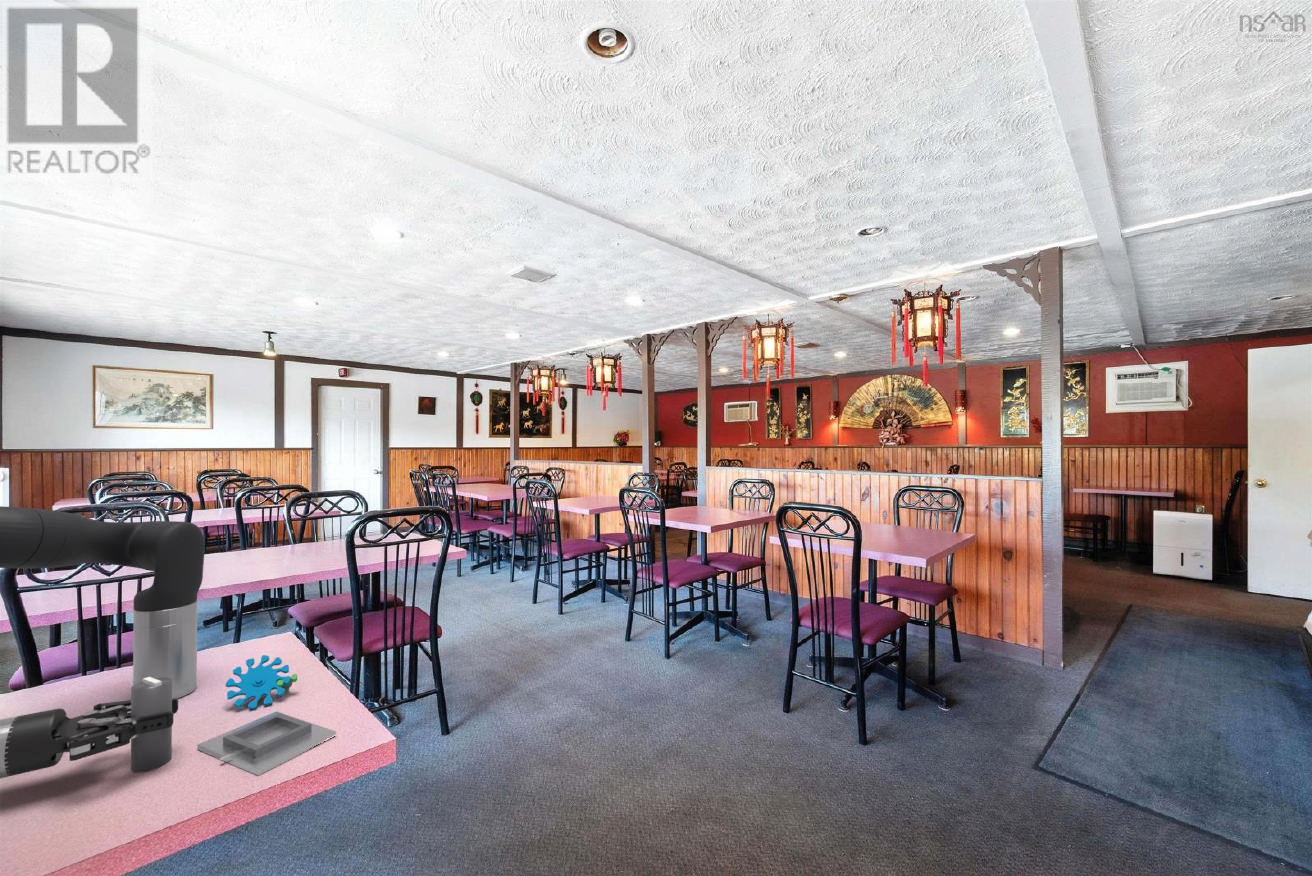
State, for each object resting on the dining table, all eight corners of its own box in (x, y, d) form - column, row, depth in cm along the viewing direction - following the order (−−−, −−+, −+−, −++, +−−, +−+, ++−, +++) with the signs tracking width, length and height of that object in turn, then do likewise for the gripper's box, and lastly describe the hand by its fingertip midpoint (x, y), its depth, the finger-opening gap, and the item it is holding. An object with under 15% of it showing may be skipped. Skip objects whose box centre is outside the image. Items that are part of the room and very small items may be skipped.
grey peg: (124, 767, 83) (124, 683, 83) (162, 751, 87) (162, 671, 87) (140, 775, 81) (140, 689, 81) (177, 759, 85) (178, 677, 85)
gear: (217, 708, 98) (234, 654, 105) (219, 722, 101) (235, 668, 108) (291, 704, 103) (302, 652, 110) (290, 717, 106) (301, 666, 113)
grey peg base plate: (191, 752, 87) (191, 739, 87) (276, 715, 99) (276, 704, 99) (252, 778, 80) (252, 764, 80) (335, 736, 92) (335, 724, 92)
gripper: (-10, 742, 70) (169, 705, 80) (30, 698, 82) (181, 671, 92) (-11, 801, 70) (168, 757, 80) (30, 749, 82) (181, 717, 92)
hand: (174, 711), depth 86 cm, fingers closed on grey peg, 4 cm apart
